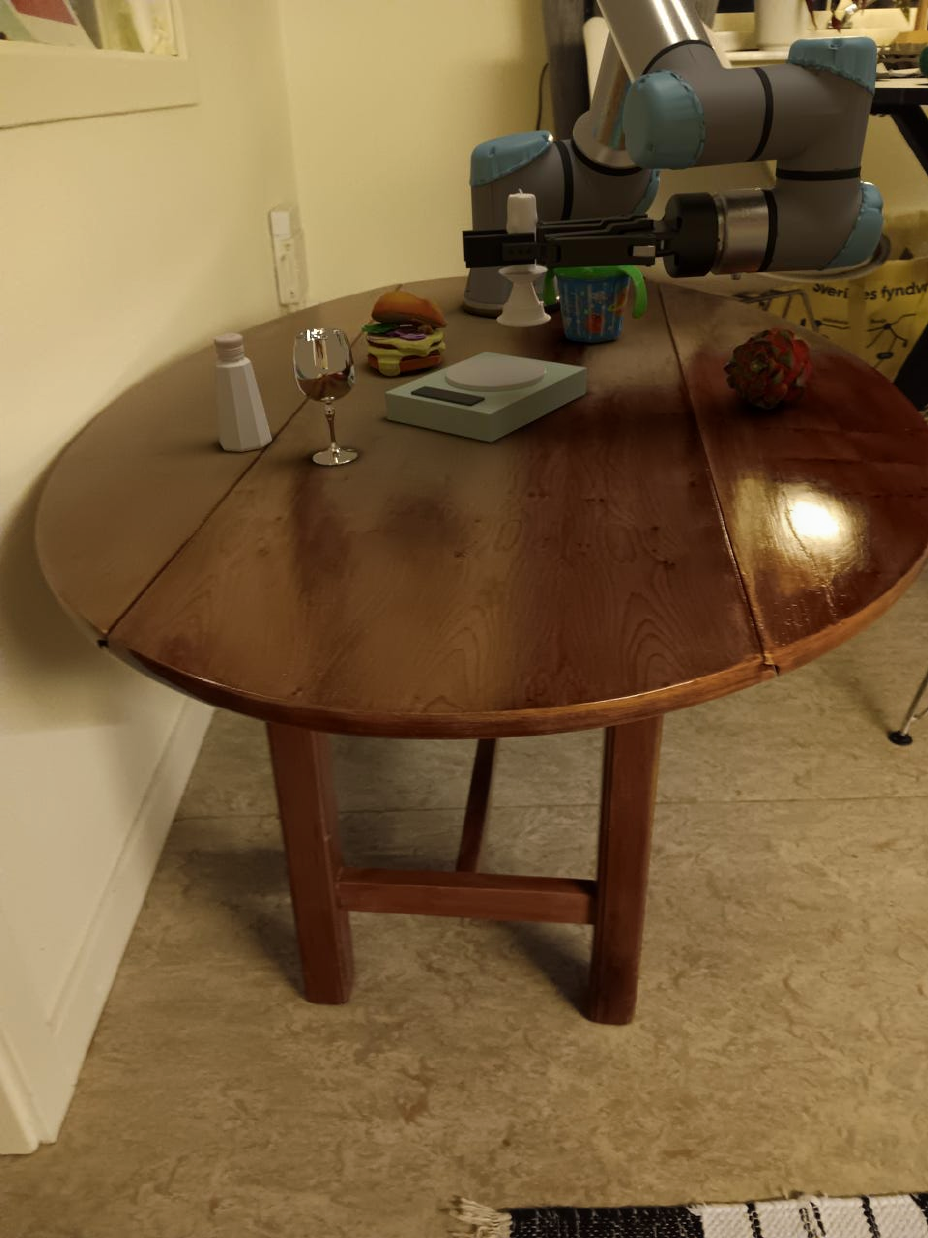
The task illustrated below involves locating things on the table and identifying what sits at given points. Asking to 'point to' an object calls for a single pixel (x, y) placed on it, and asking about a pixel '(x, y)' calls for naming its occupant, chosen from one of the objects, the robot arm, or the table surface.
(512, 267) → the candle
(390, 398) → the kitchen scale
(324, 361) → the wineglass
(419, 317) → the cheeseburger
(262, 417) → the pepper shaker
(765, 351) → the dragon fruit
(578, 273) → the snack cup
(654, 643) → the table surface
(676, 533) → the table surface
